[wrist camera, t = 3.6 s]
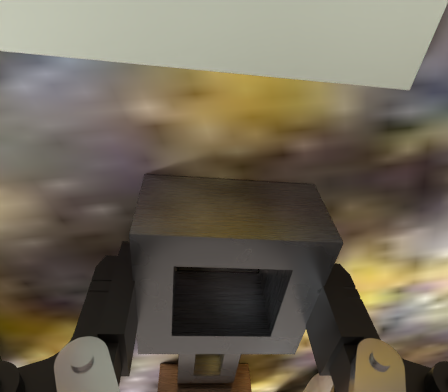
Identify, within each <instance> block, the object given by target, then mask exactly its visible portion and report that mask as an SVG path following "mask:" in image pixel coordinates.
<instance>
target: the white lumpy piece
mask: <svg viewBox="0 0 448 392" xmlns="http://www.w3.org/2000/svg"><path fill="white" fill-rule="evenodd" d="M332 386H333V381H332V378H331V376H320V375H319V373H317V374H316V375H314V376H313V377H312V379H311V380H310V381H309V383H308V384H307V386H306V388H305V390H304V392H330V391H331V388H332Z"/></svg>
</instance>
